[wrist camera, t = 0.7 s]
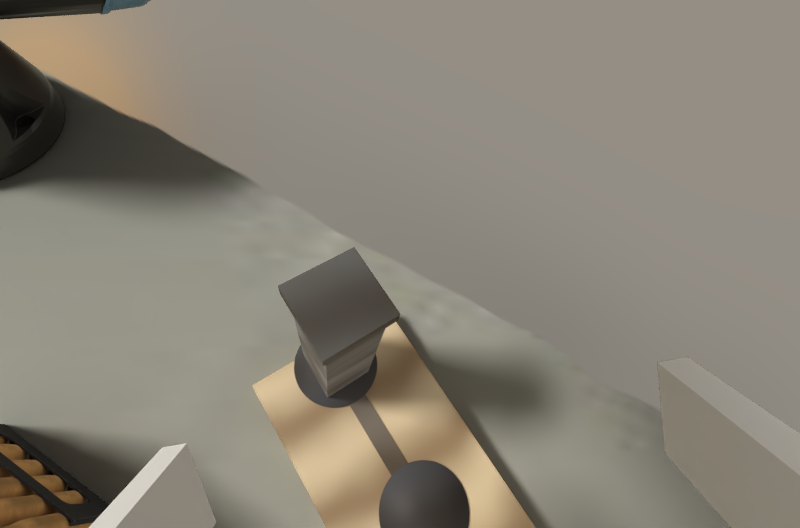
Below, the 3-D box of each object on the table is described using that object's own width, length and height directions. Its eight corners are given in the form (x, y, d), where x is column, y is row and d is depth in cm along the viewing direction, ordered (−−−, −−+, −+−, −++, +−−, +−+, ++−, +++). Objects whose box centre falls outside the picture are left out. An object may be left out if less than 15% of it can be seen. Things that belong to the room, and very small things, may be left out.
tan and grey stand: (249, 376, 32) (185, 307, 18) (375, 303, 37) (404, 200, 22) (406, 675, 26) (499, 936, 12) (537, 543, 30) (721, 615, 16)
